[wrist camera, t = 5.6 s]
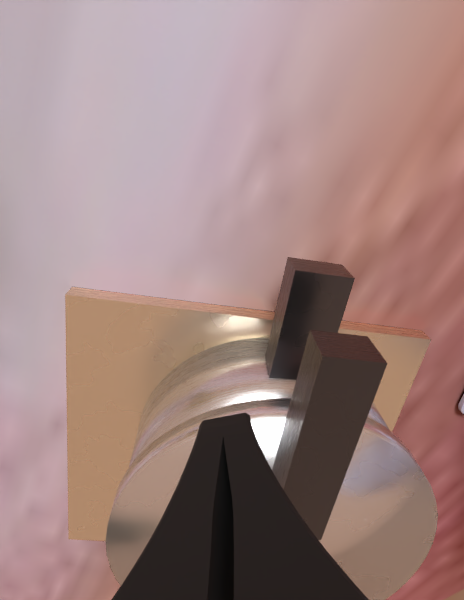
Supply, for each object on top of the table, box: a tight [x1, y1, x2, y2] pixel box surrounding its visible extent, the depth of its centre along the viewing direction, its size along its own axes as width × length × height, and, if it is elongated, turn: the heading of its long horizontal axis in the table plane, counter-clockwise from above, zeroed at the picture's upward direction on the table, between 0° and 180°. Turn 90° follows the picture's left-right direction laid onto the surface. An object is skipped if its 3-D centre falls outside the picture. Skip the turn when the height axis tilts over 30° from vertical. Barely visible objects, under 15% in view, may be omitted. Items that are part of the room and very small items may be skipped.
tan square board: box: [65, 257, 431, 541], centre depth 21 cm, size 19×22×6 cm
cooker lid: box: [106, 330, 438, 600], centre depth 16 cm, size 18×15×3 cm
